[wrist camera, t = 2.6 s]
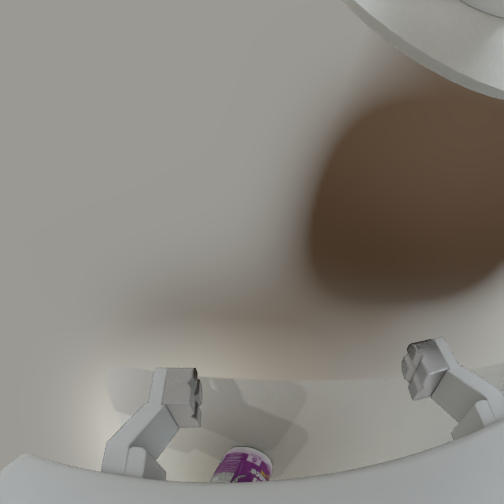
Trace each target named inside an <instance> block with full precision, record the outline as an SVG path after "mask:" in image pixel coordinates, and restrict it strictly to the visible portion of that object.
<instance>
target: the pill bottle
mask: <svg viewBox="0 0 504 504" xmlns="http://www.w3.org/2000/svg"><path fill="white" fill-rule="evenodd" d="M272 469H273V466H272V463H271V461H270V459H269V458H268V457H267V456H266V455H265V454H264V453H262V452H260V451H258V450H256V449H253V448H249V447H235V448H232V449H230V450H228V451H227V452H226V453H225V455H224V457H223V458H222V460H221V462H220V464H219V466H218V468H217V469H216V471H215V473H214V475H213V477H212V478H211V480H210V482H209V483H240V482H261V481H269V479H270V476H271V473H272Z"/></svg>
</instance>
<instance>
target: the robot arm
mask: <svg viewBox="0 0 504 504" xmlns="http://www.w3.org/2000/svg"><path fill="white" fill-rule="evenodd" d="M460 1H462V2H464V3H466V4H467V5H470V6H472V7H474V8H476V9H478V10H481V11H483V12H486V13H489V14H491V15H495V16H498V17H502V18H504V0H460ZM407 352H408V354H407V355H406V356H404V358H403V361H402V373H403V376H404V379H405V380H407V381H408V382H410V383H409V386H408V389H409V391H410V394H411V397H412V399H413V401H414V400H418V399H422V398H426V397H430V396H431V398H432V399H433V400H434V401H435V402H436V403H437V404H439V405H440V406H441V407H442V408H443V409H444V410H445V411H446V412H447V413H449V414H450V415H451V416H452V417H453V418H454V419H455V420H456V421H457V422H458V423H459V424H458V425H457V426H456V427H455V428H454V429H453V431H452V432H451V434H452V437H453V440H454V441H451V442H448V443H446V444H443V445H440V446H437V447H434V448H431V449H428V450H425V451H422V452H419V453H416V454H413V455H409V456H406V457H402V458H399V459H395V460H392V461H388V462H384V463H380V464H376V465H371V466H367V467H363V468H358V469H353V470H348V471H343V472H337V473H331V474H325V475H319V476H312V477H304V478H296V479H286V480H275V481H261V482H240V483H200V482H178V481H166V471H165V470H164V469H163V468H162V467H161V466H160V465H159V464H158V463H157V462H156V460H157V458H158V457H159V456H160V454H161V453H162V452H163V450H164V449H165V447H166V446H167V445H168V443H169V442H170V441H171V439H172V438H173V436H174V435H175V434H176V432H177V431H178V430H179V428H194V427H200V426H201V410H200V408H199V406H200V405H201V403H202V386H201V382H200V380H199V379H198V378H197V374H198V373H197V370H196V368H155V370H154V373H153V378H152V383H151V388H150V393H149V398H148V404H143V405H142V406H141V407H140V408H139V410H138V411H137V412H136V413H135V414H134V415H133V416H132V417H131V418H130V419H129V420H128V421H127V422H126V423H125V424H124V425H123V426H122V427H121V428H120V429H119V430H118V431H117V432H116V433H115V434H114V435H113V436H112V438H111V439H110V440H109V441H108V442H107V444H106V448H105V453H104V458H103V463H102V468H101V472H98V471H93V470H88V469H83V468H78V467H74V466H70V465H66V464H62V463H58V462H54V461H50V460H47V459H44V458H40V457H37V456H34V455H30V454H23V455H21V456H19V457H18V458H16V459H15V460H14V461H12V462H11V463H10V464H9V465H8V466H6V467H5V468H4V469H3V470H2V471H1V472H0V504H504V396H503V394H502V392H501V391H500V390H499V389H497V388H496V387H494V386H493V385H491V384H490V383H488V382H487V381H485V380H484V379H482V378H481V377H479V376H478V375H476V374H475V373H473V372H472V371H470V370H468V369H467V368H465V367H464V366H459V364H458V362H457V360H456V358H455V357H454V355H453V353H452V351H451V349H450V347H449V346H448V344H447V342H446V340H445V338H443V337H439V338H435V339H429V340H425V341H420V342H416V343H412V344H410V345H409V346H408V348H407Z"/></svg>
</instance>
